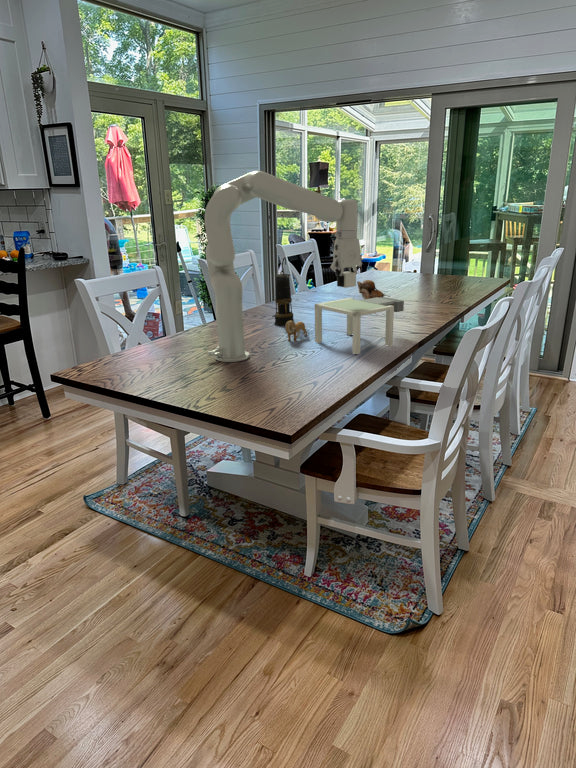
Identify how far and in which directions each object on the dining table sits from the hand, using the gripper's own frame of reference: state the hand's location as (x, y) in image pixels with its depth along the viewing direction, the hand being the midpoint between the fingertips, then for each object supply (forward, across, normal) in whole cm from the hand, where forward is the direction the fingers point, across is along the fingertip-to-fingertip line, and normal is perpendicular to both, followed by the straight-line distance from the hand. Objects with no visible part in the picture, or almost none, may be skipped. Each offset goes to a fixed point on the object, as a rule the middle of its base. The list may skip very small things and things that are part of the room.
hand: (346, 284), depth 202 cm
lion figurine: (+24, -9, +21) cm, 33 cm away
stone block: (+1, 0, 0) cm, 1 cm away
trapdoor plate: (+13, +11, 0) cm, 17 cm away
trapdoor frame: (+24, +4, 0) cm, 24 cm away
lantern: (+24, +4, +47) cm, 53 cm away
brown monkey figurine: (+24, +70, +60) cm, 95 cm away
